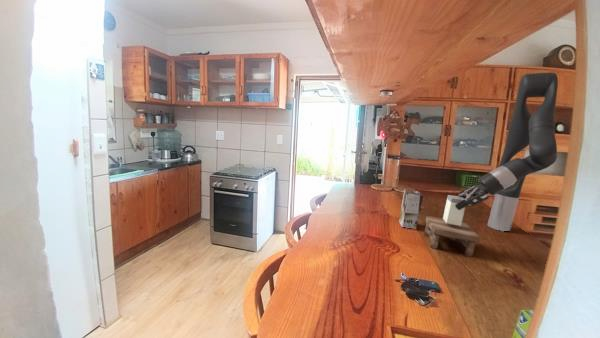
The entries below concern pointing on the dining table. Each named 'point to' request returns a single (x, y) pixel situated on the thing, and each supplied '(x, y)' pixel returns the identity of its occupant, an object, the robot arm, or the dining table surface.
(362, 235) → the dining table surface
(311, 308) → the dining table surface
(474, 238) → the footstool
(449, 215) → the cream faceted block
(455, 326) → the dining table surface
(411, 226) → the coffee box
